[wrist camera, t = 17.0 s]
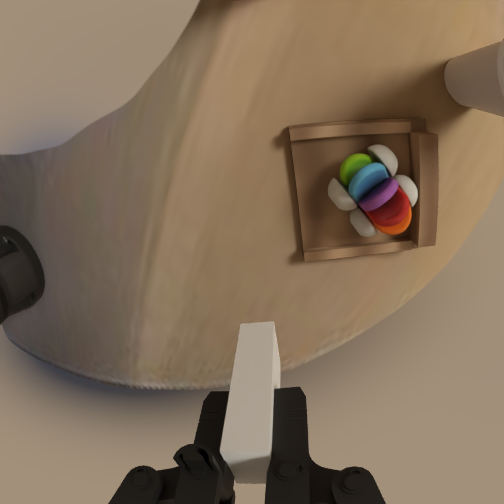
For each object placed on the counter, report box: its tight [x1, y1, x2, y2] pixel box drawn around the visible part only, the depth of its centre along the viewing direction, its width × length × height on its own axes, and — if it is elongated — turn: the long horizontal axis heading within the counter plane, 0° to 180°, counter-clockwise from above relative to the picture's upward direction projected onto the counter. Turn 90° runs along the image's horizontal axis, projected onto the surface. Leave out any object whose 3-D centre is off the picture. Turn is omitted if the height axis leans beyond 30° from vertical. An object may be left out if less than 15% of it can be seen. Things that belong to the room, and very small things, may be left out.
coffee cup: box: [444, 39, 504, 117], centre depth 21 cm, size 10×10×15 cm
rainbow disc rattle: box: [328, 145, 418, 237], centre depth 31 cm, size 8×10×7 cm
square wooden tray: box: [288, 119, 439, 262], centre depth 33 cm, size 16×16×4 cm
